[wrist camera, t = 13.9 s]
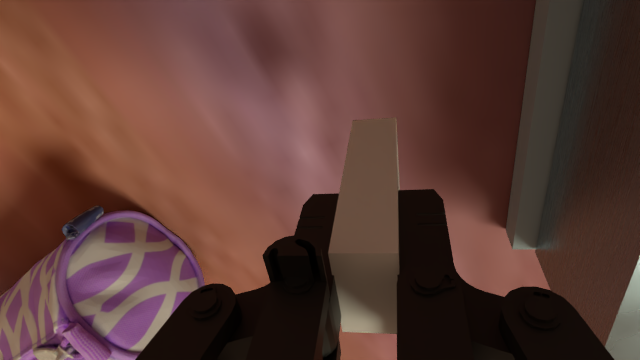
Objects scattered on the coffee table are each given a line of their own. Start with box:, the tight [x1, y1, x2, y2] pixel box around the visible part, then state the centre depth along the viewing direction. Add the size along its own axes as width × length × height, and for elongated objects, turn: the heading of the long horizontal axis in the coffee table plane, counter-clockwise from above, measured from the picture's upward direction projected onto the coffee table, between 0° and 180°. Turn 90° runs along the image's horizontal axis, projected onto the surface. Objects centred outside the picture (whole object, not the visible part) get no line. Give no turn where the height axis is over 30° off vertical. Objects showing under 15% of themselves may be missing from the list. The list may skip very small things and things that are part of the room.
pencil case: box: [0, 205, 205, 360], centre depth 26 cm, size 22×9×10 cm, turn 132°
